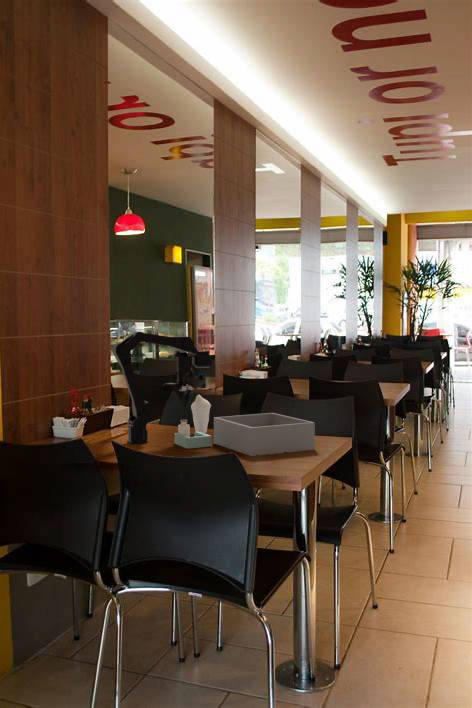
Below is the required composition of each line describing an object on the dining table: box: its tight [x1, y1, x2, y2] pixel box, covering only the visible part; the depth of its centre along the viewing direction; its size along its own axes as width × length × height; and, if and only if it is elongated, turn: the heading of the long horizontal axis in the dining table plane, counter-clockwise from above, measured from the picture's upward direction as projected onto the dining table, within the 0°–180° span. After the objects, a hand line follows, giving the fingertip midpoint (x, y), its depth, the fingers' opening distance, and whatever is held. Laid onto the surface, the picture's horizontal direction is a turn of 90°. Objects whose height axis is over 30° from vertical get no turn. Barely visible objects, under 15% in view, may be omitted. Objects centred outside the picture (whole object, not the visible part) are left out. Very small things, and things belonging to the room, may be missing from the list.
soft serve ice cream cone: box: [190, 394, 212, 434], centre depth 301 cm, size 8×8×16 cm
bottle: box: [177, 419, 191, 437], centre depth 281 cm, size 4×4×8 cm
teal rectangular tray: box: [174, 431, 213, 449], centre depth 273 cm, size 10×12×4 cm
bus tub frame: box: [213, 412, 316, 457], centre depth 269 cm, size 26×30×10 cm
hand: (184, 407), depth 286 cm, fingers closed
